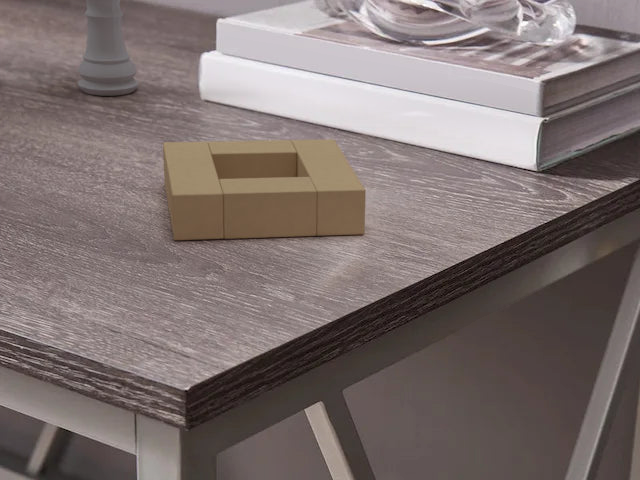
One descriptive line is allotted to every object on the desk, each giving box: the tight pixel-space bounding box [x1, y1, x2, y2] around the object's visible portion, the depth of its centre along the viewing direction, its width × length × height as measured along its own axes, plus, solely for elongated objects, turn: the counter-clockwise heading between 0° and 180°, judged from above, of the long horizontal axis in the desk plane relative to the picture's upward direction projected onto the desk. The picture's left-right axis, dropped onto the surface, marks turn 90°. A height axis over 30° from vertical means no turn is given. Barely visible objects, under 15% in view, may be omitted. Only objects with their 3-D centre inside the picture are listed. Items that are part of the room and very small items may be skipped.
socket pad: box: [162, 138, 366, 241], centre depth 72 cm, size 10×10×2 cm
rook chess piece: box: [77, 0, 139, 97], centre depth 95 cm, size 4×4×8 cm
